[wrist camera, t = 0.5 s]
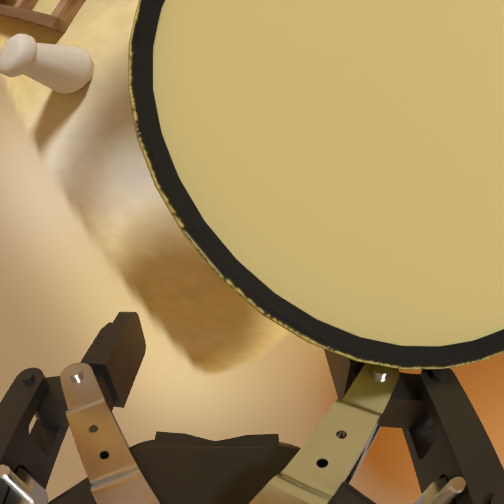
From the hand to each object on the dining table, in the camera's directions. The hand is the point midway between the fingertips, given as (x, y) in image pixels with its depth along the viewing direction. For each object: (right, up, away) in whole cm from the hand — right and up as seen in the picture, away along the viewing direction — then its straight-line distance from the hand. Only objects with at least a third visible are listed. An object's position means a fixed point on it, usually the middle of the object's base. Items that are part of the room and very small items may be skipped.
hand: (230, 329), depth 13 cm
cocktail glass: (+10, +15, +16) cm, 24 cm away
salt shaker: (-20, +25, +16) cm, 35 cm away
